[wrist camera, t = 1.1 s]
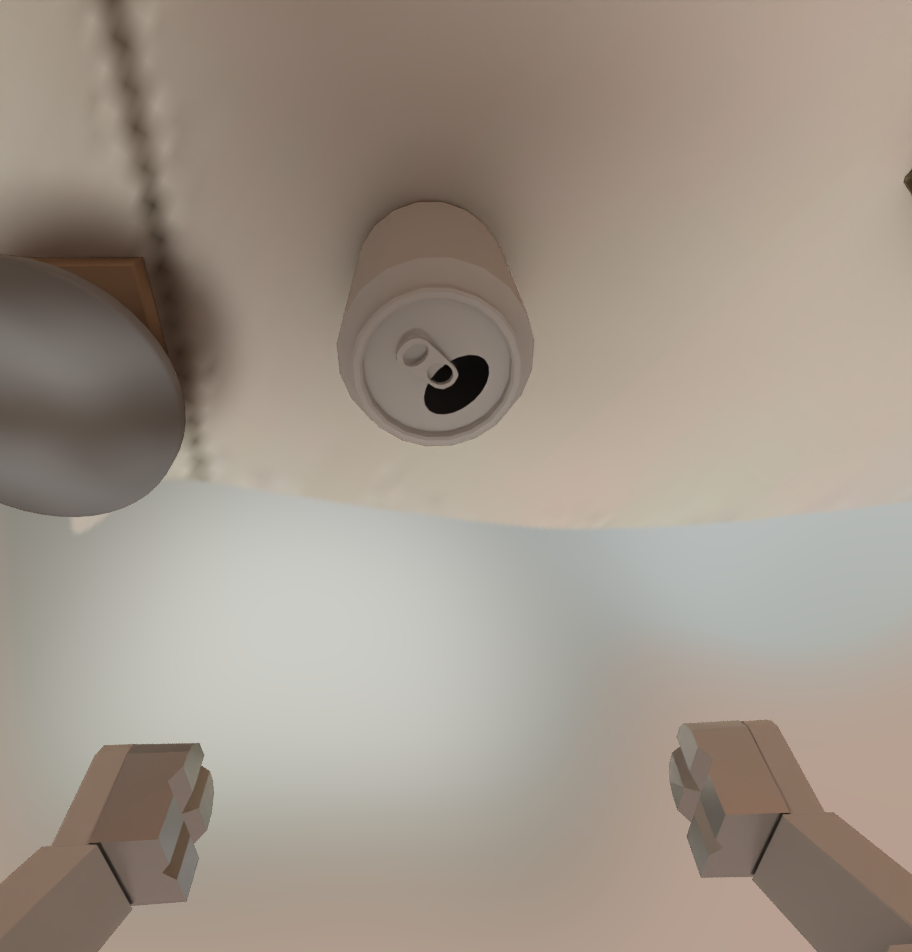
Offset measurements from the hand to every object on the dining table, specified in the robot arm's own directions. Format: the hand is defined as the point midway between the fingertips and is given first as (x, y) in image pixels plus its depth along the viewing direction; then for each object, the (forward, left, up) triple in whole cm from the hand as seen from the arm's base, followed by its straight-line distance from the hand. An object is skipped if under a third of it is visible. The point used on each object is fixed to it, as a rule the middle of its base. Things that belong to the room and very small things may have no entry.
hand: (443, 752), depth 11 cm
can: (0, 0, -27) cm, 27 cm away
